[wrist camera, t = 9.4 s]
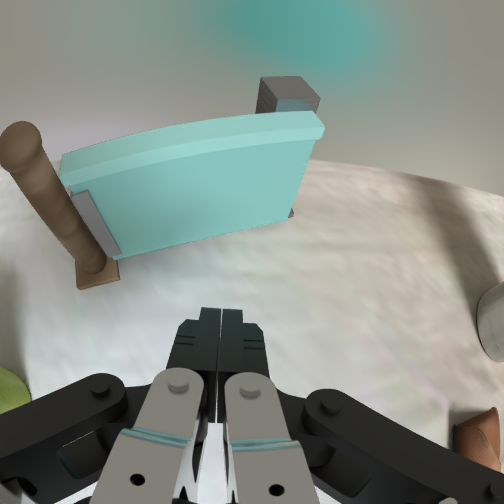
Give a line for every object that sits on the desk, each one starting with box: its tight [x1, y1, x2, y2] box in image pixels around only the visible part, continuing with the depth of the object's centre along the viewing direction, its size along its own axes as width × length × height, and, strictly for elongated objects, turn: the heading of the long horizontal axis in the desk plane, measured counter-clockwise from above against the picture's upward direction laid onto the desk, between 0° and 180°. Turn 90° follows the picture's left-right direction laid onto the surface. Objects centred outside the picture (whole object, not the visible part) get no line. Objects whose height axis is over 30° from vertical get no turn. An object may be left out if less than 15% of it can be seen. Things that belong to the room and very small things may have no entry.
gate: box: [59, 111, 325, 260], centre depth 20 cm, size 16×2×11 cm, turn 108°
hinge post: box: [0, 121, 120, 290], centre depth 16 cm, size 4×4×16 cm
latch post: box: [255, 76, 320, 218], centre depth 22 cm, size 4×4×13 cm
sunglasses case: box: [454, 407, 501, 472], centre depth 14 cm, size 18×7×7 cm
